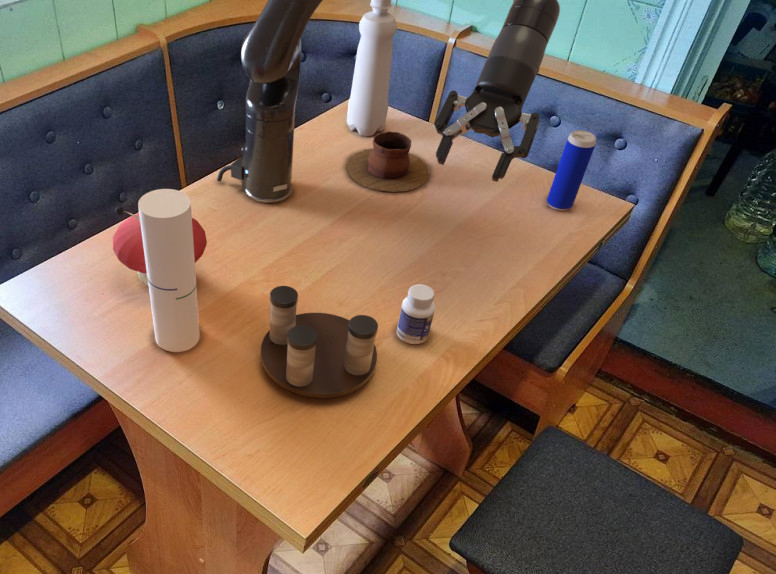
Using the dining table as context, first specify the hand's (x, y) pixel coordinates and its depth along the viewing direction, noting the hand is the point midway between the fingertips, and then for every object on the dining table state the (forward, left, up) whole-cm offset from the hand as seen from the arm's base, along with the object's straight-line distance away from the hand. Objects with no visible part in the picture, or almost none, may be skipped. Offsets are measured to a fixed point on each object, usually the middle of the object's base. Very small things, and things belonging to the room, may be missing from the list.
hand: (467, 171), depth 108 cm
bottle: (-37, +48, -25) cm, 66 cm away
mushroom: (-43, -21, -25) cm, 54 cm away
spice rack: (-10, -25, -23) cm, 35 cm away
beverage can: (+10, +41, -25) cm, 49 cm away
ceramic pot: (-25, +34, -25) cm, 49 cm away
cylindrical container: (-32, -32, -25) cm, 51 cm away
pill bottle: (0, -11, -25) cm, 27 cm away
